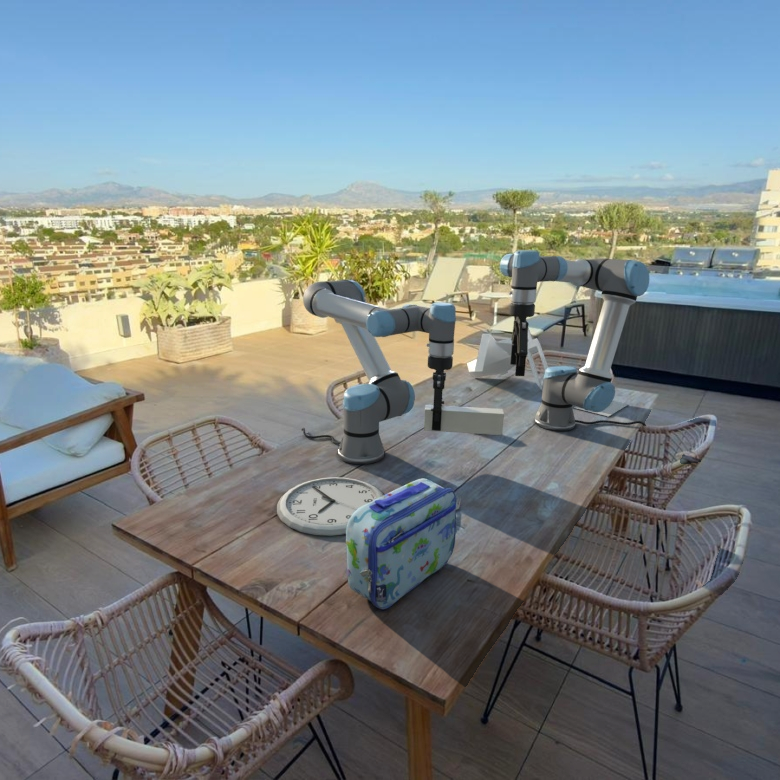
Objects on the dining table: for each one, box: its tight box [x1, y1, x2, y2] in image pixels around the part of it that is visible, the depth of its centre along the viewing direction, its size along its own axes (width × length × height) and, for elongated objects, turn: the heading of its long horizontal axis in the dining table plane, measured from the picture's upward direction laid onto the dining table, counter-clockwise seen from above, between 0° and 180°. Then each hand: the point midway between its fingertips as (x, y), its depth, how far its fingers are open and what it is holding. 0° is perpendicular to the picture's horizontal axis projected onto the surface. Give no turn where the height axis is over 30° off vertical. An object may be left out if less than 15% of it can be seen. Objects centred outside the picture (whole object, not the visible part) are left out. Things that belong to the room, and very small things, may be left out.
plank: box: [423, 404, 505, 436], centre depth 163 cm, size 24×4×7 cm, turn 83°
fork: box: [456, 495, 462, 511], centre depth 138 cm, size 3×16×2 cm, turn 160°
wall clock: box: [276, 476, 385, 537], centre depth 143 cm, size 30×2×30 cm
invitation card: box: [573, 400, 628, 418], centre depth 226 cm, size 21×1×15 cm
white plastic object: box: [466, 327, 549, 391], centre depth 258 cm, size 37×45×31 cm
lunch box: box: [345, 477, 457, 610], centre depth 110 cm, size 26×11×21 cm, turn 134°
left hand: (436, 426), depth 165 cm, fingers closed on plank, 4 cm apart
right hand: (517, 370), depth 166 cm, fingers open, 13 cm apart
